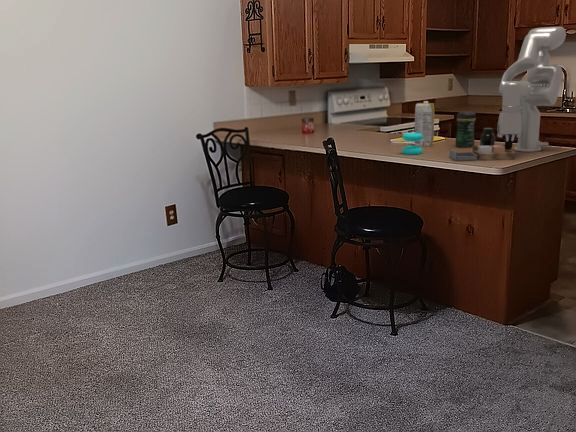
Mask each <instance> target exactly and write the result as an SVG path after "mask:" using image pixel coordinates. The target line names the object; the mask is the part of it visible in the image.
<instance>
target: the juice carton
mask: <svg viewBox="0 0 576 432" xmlns="http://www.w3.org/2000/svg"><path fill="white" fill-rule="evenodd" d="M414 110H415V112H414V133H420V134H422V135H423V138H422V139H421V140H420V141H414V146H419V147H430V146H433V144H434V138H435V137H434V136H435V103H431V102H430V103H429V101H428V100H423V102H418V103H416V104H415V109H414Z"/></svg>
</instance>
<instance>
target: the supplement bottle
mask: <svg viewBox="0 0 576 432" xmlns="http://www.w3.org/2000/svg"><path fill="white" fill-rule="evenodd" d="M479 141H480V143H479V146H489V145H496V144H495V143H496V142H495V141H496V136H495V134H494V128H492V127H484V128H483V129H482V134H480V138H479Z"/></svg>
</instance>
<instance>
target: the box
mask: <svg viewBox="0 0 576 432" xmlns="http://www.w3.org/2000/svg"><path fill="white" fill-rule="evenodd" d="M449 158H450V159H452V160H453V161H455V162H472V161H473V162H474V161H475V162H477V161H478V159H477V155H476V154H474V153H472V151H468V152H457V151H456V150H453V149H452V148H449Z"/></svg>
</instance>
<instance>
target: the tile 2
mask: <svg viewBox="0 0 576 432" xmlns="http://www.w3.org/2000/svg"><path fill="white" fill-rule="evenodd" d="M502 145H503V144H497V145H496V144H495V145H491V147H492V152H505V146H502Z"/></svg>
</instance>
